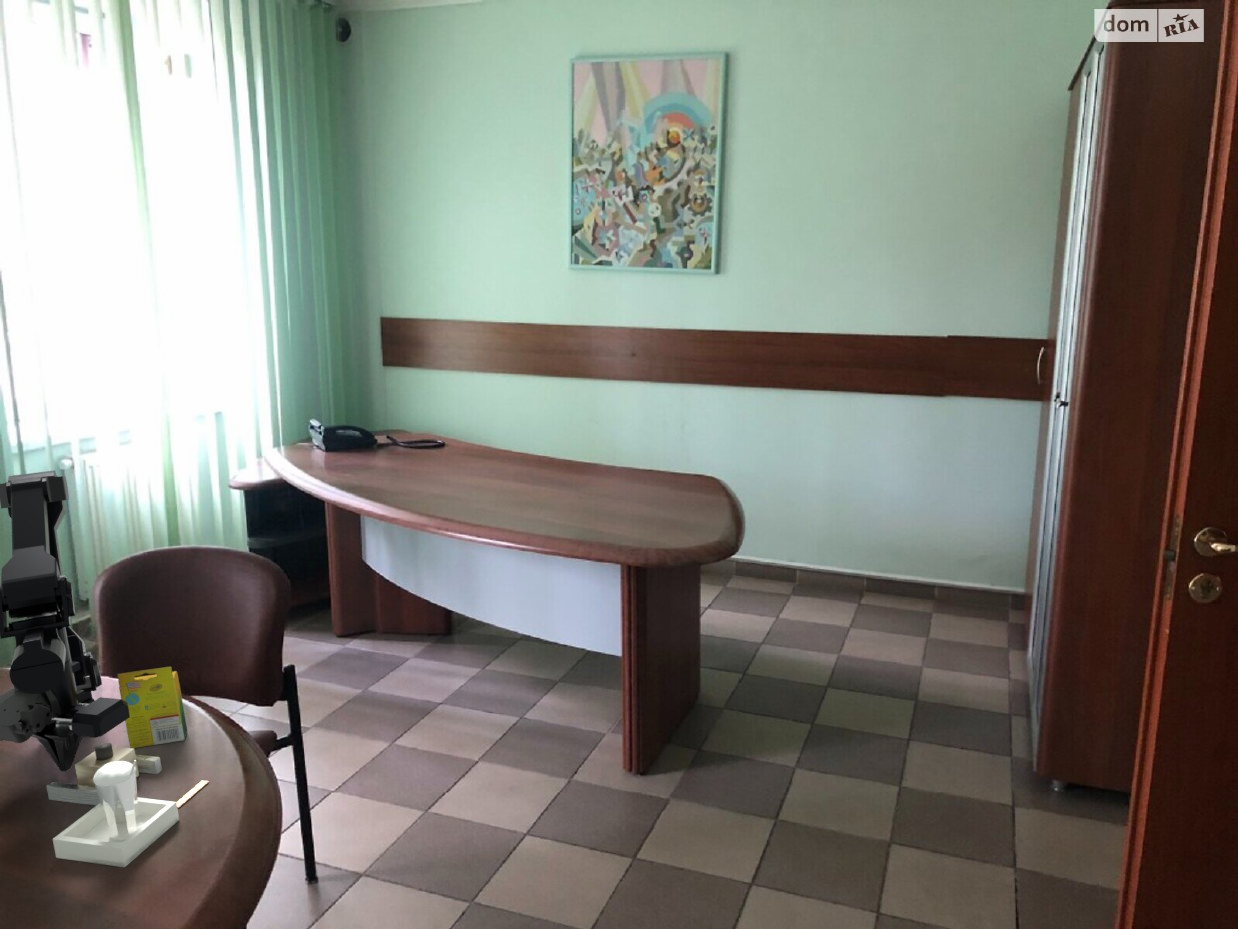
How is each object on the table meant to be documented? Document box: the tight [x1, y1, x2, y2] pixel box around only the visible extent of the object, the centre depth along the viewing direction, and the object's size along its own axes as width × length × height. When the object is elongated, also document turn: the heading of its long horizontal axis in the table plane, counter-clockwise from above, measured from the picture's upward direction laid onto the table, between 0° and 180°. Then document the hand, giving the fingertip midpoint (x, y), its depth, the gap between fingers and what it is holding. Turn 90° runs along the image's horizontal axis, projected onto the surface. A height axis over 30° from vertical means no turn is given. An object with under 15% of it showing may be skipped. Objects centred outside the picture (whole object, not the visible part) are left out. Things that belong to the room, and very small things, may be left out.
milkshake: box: [93, 760, 140, 841], centre depth 116 cm, size 4×5×10 cm
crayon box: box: [117, 666, 188, 749], centre depth 139 cm, size 7×3×12 cm, turn 105°
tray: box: [52, 796, 180, 868], centre depth 117 cm, size 10×10×2 cm
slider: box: [74, 742, 140, 787], centre depth 129 cm, size 5×5×6 cm
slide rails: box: [46, 754, 210, 809], centre depth 128 cm, size 18×9×2 cm, turn 76°
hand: (66, 770), depth 131 cm, fingers closed
